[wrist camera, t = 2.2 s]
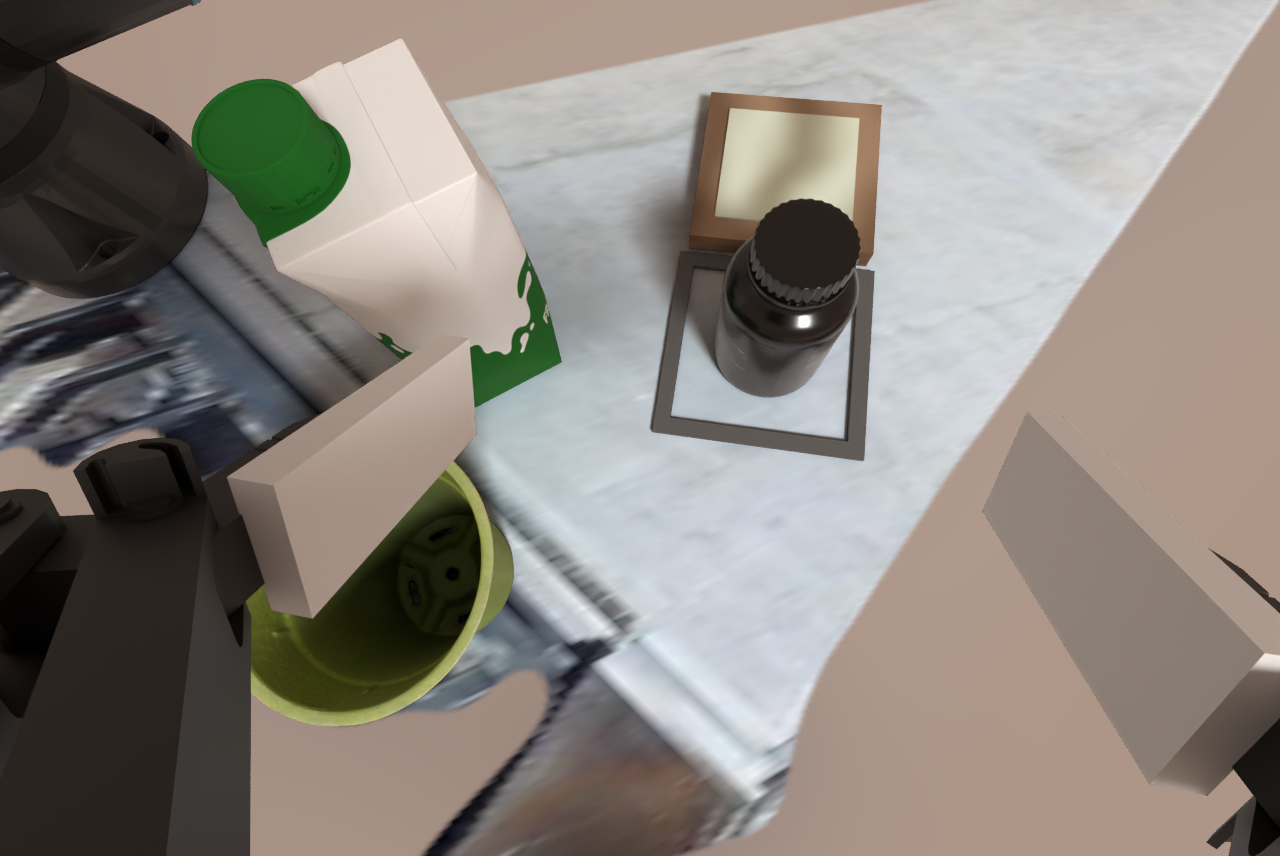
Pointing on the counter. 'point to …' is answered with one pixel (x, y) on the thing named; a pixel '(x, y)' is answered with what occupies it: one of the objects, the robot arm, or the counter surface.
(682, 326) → the ring
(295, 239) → the milk carton
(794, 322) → the supplement bottle
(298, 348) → the counter surface
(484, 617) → the plant pot
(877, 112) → the walnut board
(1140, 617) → the robot arm
